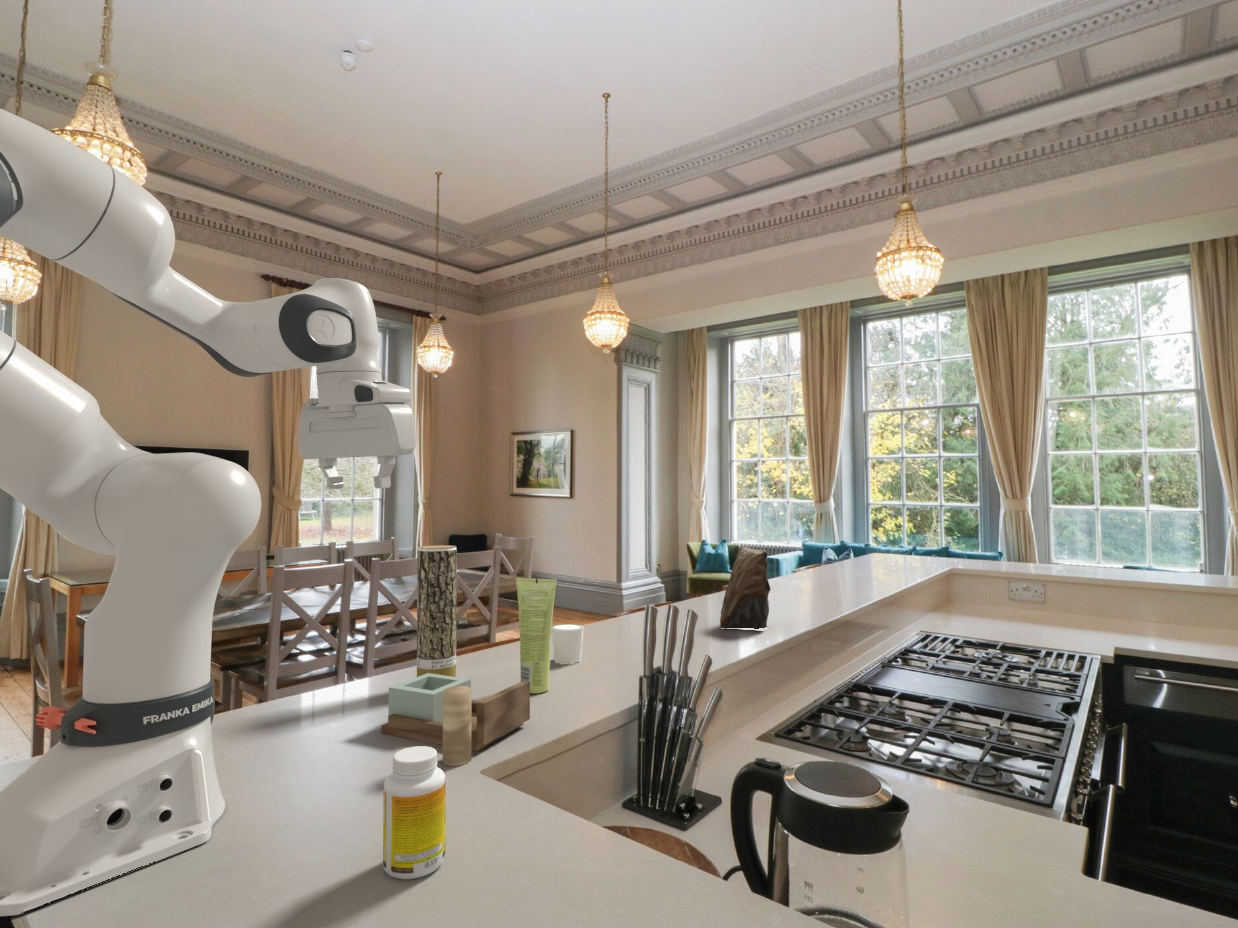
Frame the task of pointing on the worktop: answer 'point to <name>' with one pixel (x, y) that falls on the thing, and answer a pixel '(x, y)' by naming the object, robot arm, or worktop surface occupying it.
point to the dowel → (457, 725)
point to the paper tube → (436, 610)
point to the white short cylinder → (567, 643)
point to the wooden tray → (472, 719)
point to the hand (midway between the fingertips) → (358, 488)
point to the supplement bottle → (414, 814)
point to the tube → (535, 630)
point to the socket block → (422, 696)
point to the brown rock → (747, 592)
